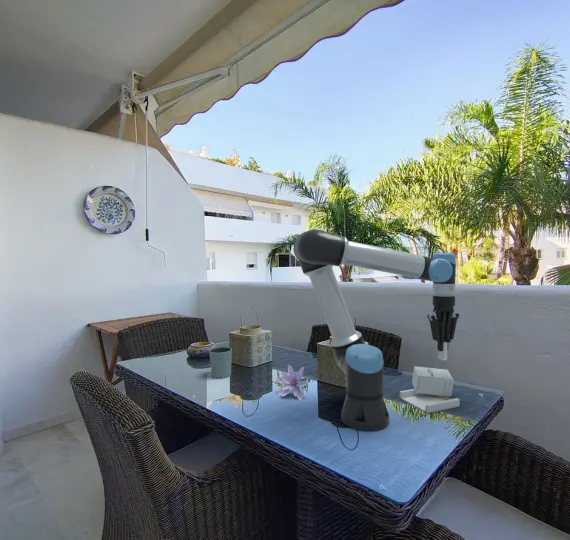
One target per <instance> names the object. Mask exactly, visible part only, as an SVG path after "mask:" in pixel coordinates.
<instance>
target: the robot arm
mask: <svg viewBox="0 0 570 540" xmlns="http://www.w3.org/2000/svg"><path fill="white" fill-rule="evenodd" d="M293 254H294V256H295V258H296V259H297V260H298V263H299V265H300V268H301V270H302V273H303V275H305V276H307V277H309V280H310V282H311V285H312V287H313V290H314V293H315V296H316V298H317V300H318V303H319V306H320V308H321V310H322V314H323V316H324V319H325V321H326V324H327V327H328V330H329V332H330V334H331V337H332V338H331V341H330V347H331V349H332V351H333V357H334V361H335V363H336V365H337V367H338V368H339V369H340V370H341V371H342V372H343V374H344V375H345V381H346V382H345V386H346V388H345V389H346V392H345V394H346V396H345V399H344V402H343V405H342V408H341V412H340V416H341V417H340V418H341V419H340V420H341V421H342V423H343V424H344V425H345V426H347V427H349V428H351V429H354V430H358V431H363V432H364V431H365V432H372V431H373V432H374V431H380V430H384V429H386V428H387V427H388V426H389V424H390V414H389V412H388V408H387V405H386V401H385V398H384V365H385V364H384V357H383V352H382V351H381V349H379V348H378V347H376V346H373V345H370V344H366V343H365V339H364V336H363V335H362V332H360V331H358V330H356V328H355V326H354V323H353V320H352V317H351V315H350V312H349V310H348V309H349V308H348V307H347V304H346V301H345V299H344V296H343V294H342V291H341V289H340V285H339V283H338V280H337V277H336V275H335V272H334V270H333V267H334V266H335V267H341V266H342V265H345V266H352V267H356V268H362V269H367V270H372V271H378V272H383V273H388V274H392V275H398V276H401V278H403V279H404V280H421V281H427V282H432V294H433V295H432V305H433V309H432V313H431V314H427V319H428V321H429V326H430V331H431V336H432V337H431V338H432V340H433V341H436V342H437V351H438V356H437V358H438V360H441V361H448V351H449V343H452V341H453V340H454V337H455V333H456V332H455V331H456V327H457V322H458V319H459V317H460V313H457V312H455V308H454V307H455V306H456V296H455V295H456V276H457V275H456V270H457V268H456V267H457V261H456V260H457V259H456V254H455V252H434V253H433V254H432V255H433V256H432V257H430V256H425V255H421V254H415V253H410V252H405V251H400V250H396V249H391V248H385V247H383V246H382V247H381V246H375V245H372V244H365V243H361V242H356V241H352V240H351V241H350V240H348V238H347V237H346V236H344V235H343V236H342V235H338V234H334V233H331V232H328V231H325V230H322V229H316V228H314V229H309V230H307V231H304V232H302V233H300V234H299V235H298V236H297V237H296V239H295V240H294V242H293Z"/></svg>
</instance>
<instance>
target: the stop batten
mask: <svg viewBox="0 0 570 540" xmlns="http://www.w3.org/2000/svg"><path fill="white" fill-rule="evenodd" d="M436 396H438V397H440V398H443V399H445V400H451V399H452V398H451V397H448V396H439V395H436Z"/></svg>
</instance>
